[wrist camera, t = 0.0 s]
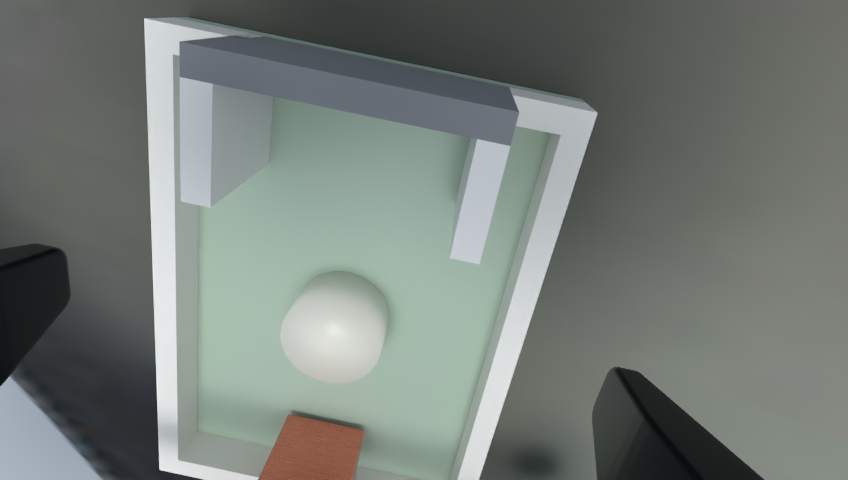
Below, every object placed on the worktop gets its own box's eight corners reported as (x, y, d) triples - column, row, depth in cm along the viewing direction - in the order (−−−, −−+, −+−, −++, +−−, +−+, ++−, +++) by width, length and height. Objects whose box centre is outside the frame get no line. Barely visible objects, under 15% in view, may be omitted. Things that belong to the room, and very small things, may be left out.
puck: (382, 359, 26) (373, 392, 23) (293, 340, 26) (276, 372, 23) (396, 282, 24) (388, 310, 22) (302, 262, 24) (284, 288, 22)
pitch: (462, 486, 30) (459, 600, 24) (188, 427, 30) (120, 527, 24) (581, 99, 21) (622, 133, 15) (187, 17, 21) (78, 20, 15)
